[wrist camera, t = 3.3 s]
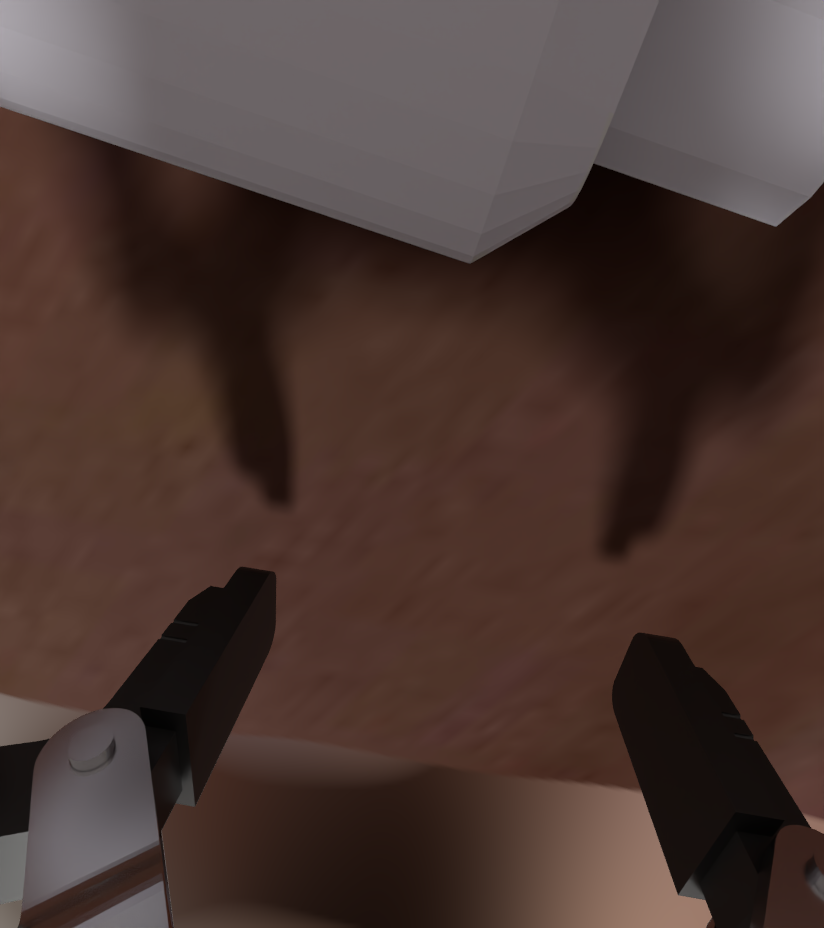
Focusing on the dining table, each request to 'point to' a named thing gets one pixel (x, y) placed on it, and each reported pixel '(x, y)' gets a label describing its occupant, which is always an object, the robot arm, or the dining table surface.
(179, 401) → the dining table surface
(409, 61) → the charger
